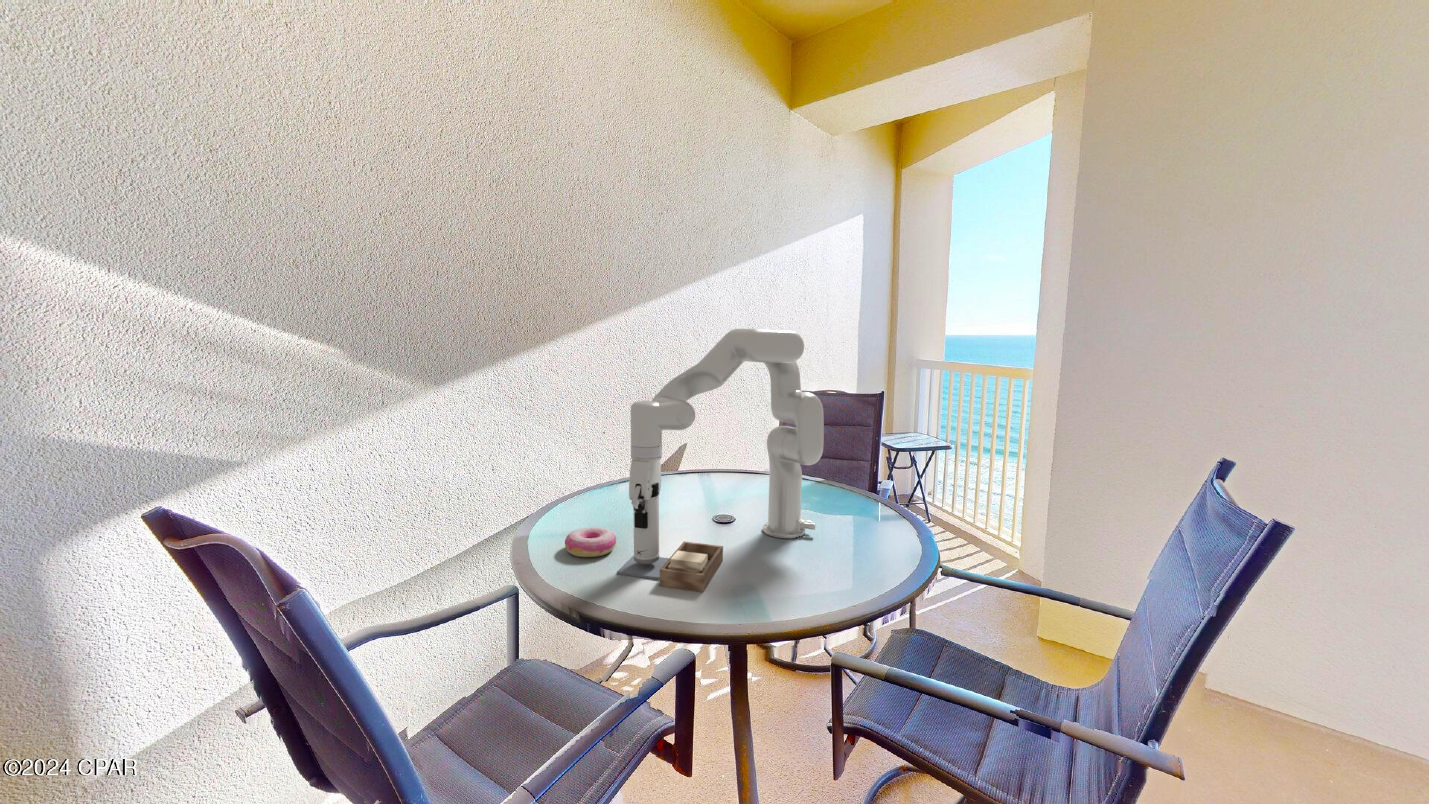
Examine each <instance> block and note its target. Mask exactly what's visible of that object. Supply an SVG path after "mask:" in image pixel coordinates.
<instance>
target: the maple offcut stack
mask: <svg viewBox="0 0 1429 804" xmlns="http://www.w3.org/2000/svg"><path fill="white" fill-rule="evenodd" d="M673 554H674V553H673ZM673 554H672V555H673ZM708 561H709V560H708V554H701V553H693V552H685V551H677V552H676V553H675V554H674V555H673V557H672V558H671V564H670V565H669V566H668V569H671V570H678V571H686V572H693V573H702V572H703V570H704V569H705V567H706V566H707V564H708Z"/></svg>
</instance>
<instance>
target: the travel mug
mask: <svg viewBox="0 0 1429 804" xmlns="http://www.w3.org/2000/svg"><path fill="white" fill-rule="evenodd" d="M652 488H653V490H652V496H651V499H650V500H648V502H647V509H646V512H648V528H646V529H643V528H636V527H635V512H634V508H633V507H632V508H633V555H634V560H635V561H636V562H637V563H640V564H651V563H654V562H656V561H658V559H659V557H660V492H659V483H657V484H655V485H654V484H653V485H652ZM639 499H644V497H643V496H640V498H639ZM639 503H640V504H641V505H642V506H643V503H644V502H639Z"/></svg>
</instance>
